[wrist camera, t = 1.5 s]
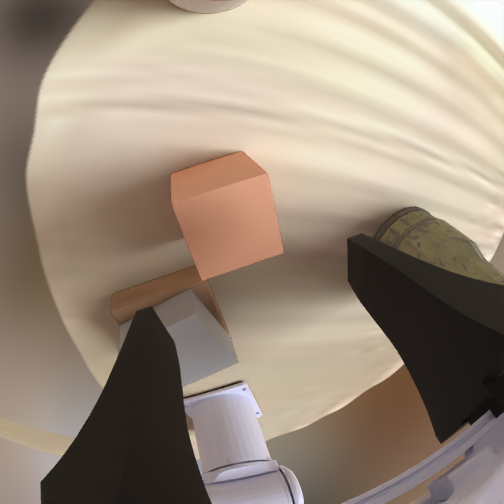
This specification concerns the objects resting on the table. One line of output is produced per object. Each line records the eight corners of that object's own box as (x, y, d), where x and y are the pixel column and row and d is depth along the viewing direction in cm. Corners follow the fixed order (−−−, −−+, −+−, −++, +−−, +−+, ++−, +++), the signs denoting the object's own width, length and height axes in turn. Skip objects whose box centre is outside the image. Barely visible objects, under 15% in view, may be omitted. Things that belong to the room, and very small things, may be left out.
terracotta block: (257, 214, 20) (283, 252, 16) (193, 235, 19) (202, 280, 15) (242, 150, 17) (267, 173, 13) (170, 173, 17) (171, 204, 13)
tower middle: (231, 337, 22) (238, 362, 20) (168, 366, 22) (170, 391, 20) (190, 287, 19) (194, 313, 17) (120, 325, 19) (118, 351, 17)
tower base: (226, 323, 25) (232, 344, 23) (152, 347, 24) (153, 368, 22) (199, 259, 21) (204, 280, 19) (113, 289, 20) (109, 311, 18)
